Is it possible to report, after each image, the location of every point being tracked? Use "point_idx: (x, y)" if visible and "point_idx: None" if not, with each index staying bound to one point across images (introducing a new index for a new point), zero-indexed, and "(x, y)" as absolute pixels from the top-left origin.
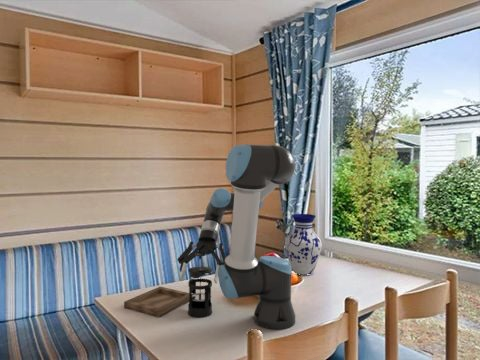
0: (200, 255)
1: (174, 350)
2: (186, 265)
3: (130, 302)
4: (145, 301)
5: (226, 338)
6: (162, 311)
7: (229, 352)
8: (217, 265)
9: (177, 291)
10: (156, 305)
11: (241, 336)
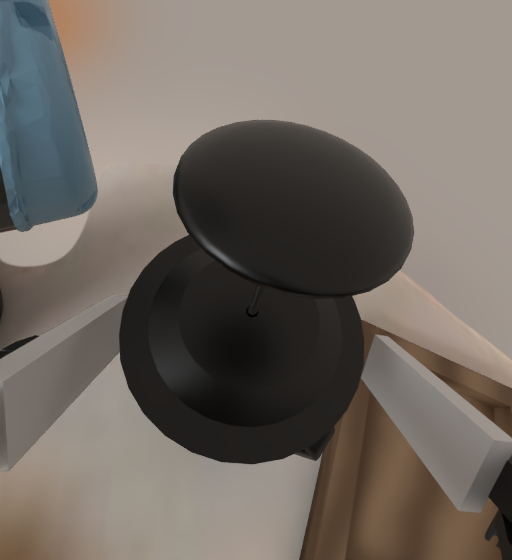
0: (273, 122)
1: None
2: (462, 485)
3: (501, 389)
4: None
5: (132, 217)
6: None
7: (132, 170)
8: (6, 370)
9: None
10: None
11: (86, 225)
